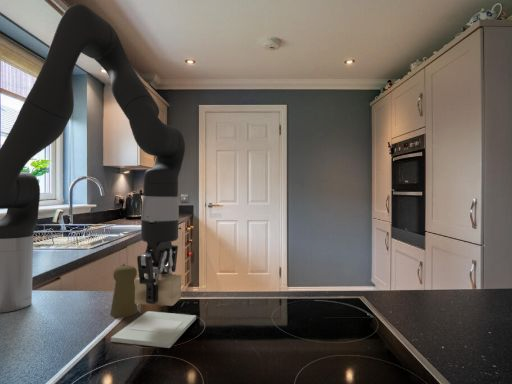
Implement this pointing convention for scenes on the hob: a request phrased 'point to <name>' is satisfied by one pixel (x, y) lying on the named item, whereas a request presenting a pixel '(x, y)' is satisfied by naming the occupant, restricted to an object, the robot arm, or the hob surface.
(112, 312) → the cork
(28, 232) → the robot arm
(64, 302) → the hob surface
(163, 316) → the board
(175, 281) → the oak block
